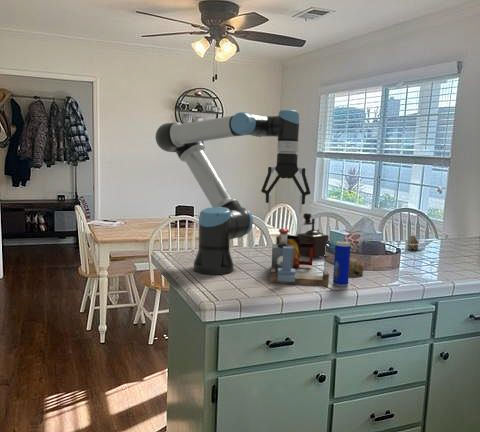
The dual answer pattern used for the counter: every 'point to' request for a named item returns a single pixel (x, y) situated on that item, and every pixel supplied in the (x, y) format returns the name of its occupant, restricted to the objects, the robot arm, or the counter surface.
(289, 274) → the carriage
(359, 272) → the bread roll
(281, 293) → the counter surface
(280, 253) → the grey block
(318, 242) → the manual coffee grinder
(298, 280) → the rail
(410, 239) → the architectural model
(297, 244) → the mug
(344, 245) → the beverage can
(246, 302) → the counter surface
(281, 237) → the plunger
